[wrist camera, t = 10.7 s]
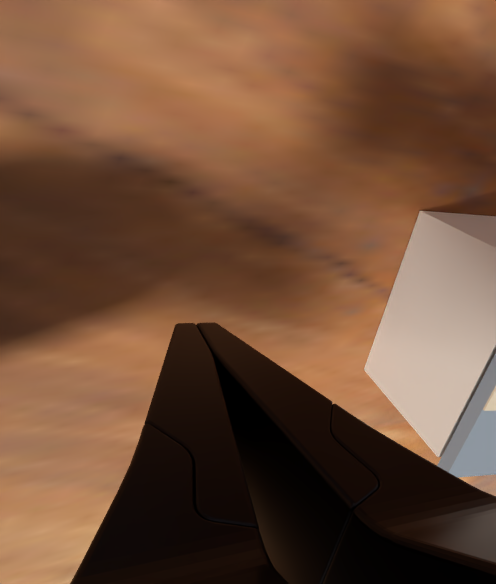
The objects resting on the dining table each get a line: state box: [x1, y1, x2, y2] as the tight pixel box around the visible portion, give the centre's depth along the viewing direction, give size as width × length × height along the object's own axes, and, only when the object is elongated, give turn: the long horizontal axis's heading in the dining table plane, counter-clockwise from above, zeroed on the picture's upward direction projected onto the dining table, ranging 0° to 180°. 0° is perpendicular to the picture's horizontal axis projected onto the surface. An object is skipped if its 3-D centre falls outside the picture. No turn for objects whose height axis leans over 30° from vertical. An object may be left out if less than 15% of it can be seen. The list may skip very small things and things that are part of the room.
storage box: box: [364, 211, 496, 457], centre depth 26 cm, size 8×12×8 cm, turn 170°
